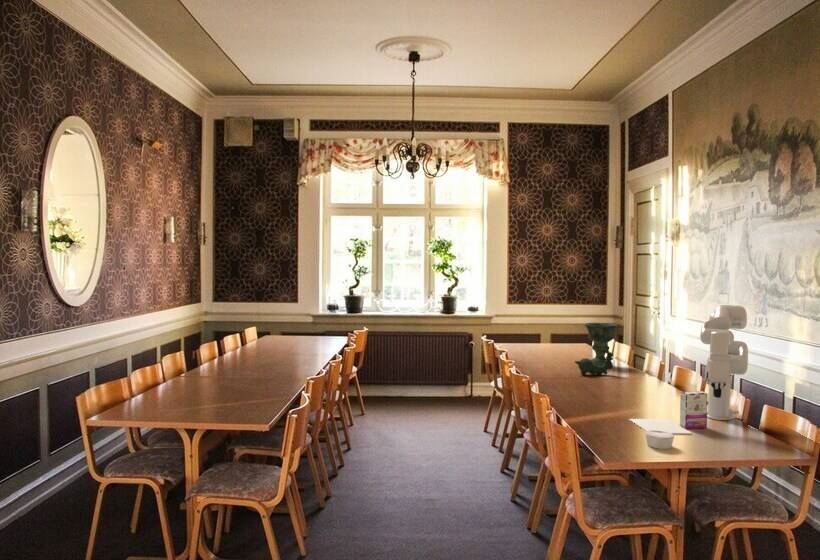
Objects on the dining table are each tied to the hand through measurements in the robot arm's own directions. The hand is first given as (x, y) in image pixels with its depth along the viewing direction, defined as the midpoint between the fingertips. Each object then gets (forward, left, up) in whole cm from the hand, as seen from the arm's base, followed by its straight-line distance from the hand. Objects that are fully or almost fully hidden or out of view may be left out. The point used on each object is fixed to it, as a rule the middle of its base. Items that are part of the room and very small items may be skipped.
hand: (717, 397), depth 297 cm
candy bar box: (+11, 0, -14) cm, 18 cm away
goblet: (-2, -161, -14) cm, 162 cm away
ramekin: (+40, +29, -15) cm, 51 cm away
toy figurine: (+15, -126, -14) cm, 128 cm away
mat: (+27, 0, -14) cm, 31 cm away
